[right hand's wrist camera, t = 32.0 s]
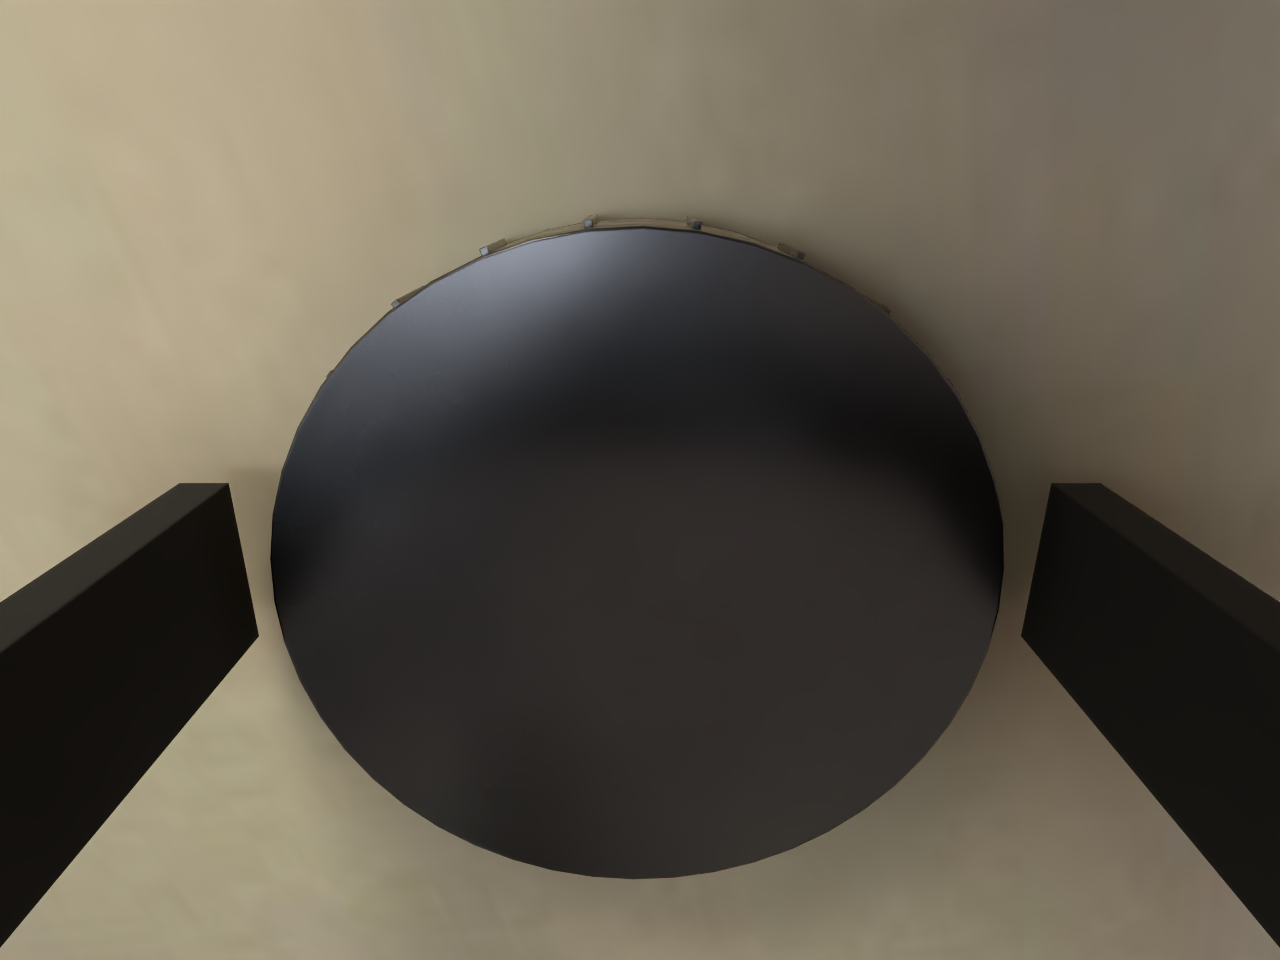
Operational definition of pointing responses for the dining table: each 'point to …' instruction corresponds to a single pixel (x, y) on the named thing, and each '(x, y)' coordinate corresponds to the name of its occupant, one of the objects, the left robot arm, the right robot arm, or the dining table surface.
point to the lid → (637, 550)
